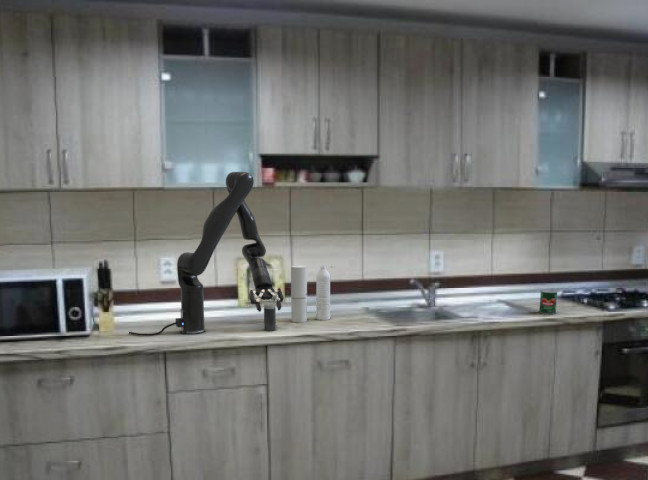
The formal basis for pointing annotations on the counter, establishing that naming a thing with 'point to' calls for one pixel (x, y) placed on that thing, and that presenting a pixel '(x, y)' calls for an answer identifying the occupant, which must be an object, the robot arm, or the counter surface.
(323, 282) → the water bottle
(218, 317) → the counter surface
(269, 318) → the salt shaker
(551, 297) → the canned tomato
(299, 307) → the cylindrical container
